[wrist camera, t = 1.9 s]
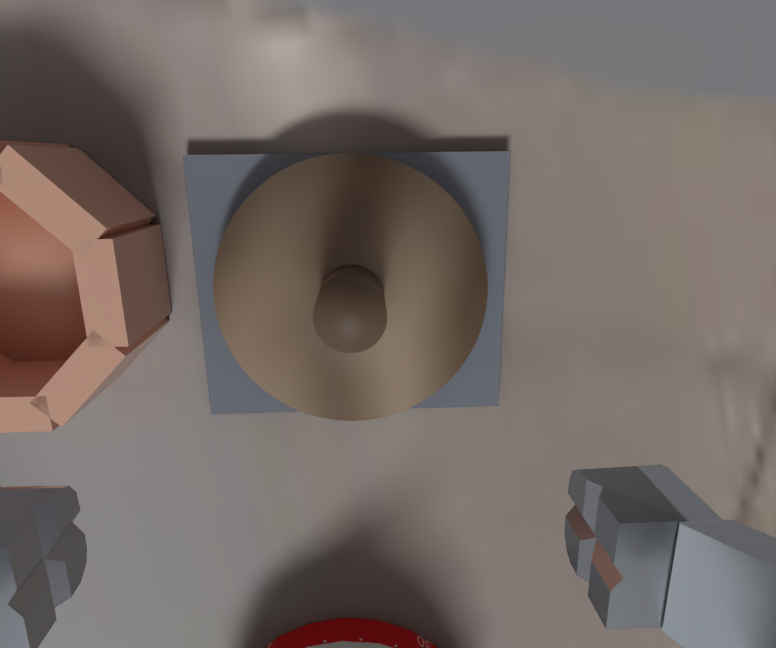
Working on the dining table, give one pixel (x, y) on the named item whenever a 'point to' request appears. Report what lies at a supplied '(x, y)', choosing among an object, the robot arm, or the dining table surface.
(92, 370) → the bowl
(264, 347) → the lid
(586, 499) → the robot arm
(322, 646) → the kitchen timer
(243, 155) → the mat
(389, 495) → the dining table surface
